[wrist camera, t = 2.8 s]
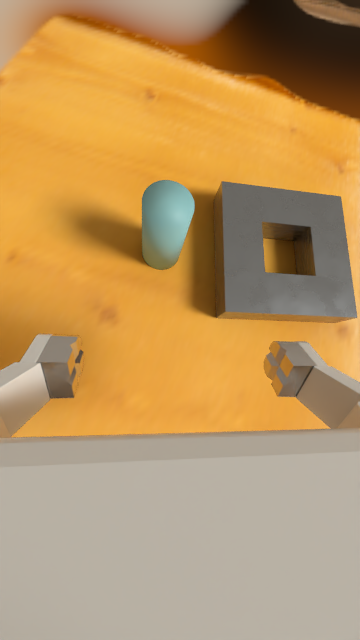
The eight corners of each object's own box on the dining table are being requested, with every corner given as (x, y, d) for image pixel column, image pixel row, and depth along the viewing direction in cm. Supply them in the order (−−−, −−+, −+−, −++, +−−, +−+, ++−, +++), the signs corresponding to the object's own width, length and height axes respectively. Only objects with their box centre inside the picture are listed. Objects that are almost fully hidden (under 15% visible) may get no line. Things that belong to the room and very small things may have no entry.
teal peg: (141, 268, 25) (140, 224, 18) (142, 233, 26) (143, 177, 18) (178, 270, 26) (194, 229, 18) (179, 236, 27) (194, 183, 19)
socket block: (216, 318, 26) (225, 311, 23) (213, 200, 28) (221, 181, 25) (334, 322, 28) (357, 317, 25) (321, 212, 30) (340, 196, 28)
